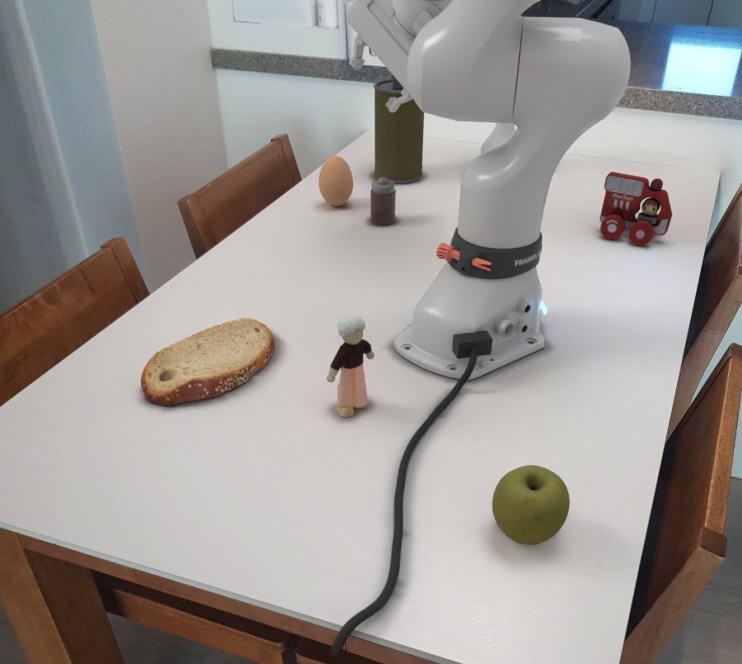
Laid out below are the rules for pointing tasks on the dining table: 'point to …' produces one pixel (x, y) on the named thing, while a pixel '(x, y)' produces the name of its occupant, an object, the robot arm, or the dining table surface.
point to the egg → (335, 181)
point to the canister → (397, 135)
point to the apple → (530, 504)
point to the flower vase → (498, 136)
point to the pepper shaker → (383, 202)
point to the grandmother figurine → (350, 366)
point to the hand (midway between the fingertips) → (371, 88)
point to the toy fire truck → (634, 208)
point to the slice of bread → (208, 362)
